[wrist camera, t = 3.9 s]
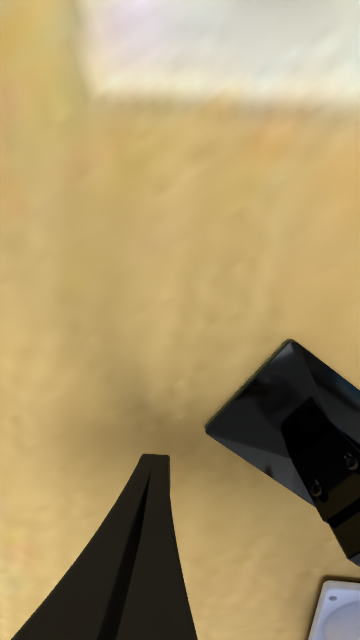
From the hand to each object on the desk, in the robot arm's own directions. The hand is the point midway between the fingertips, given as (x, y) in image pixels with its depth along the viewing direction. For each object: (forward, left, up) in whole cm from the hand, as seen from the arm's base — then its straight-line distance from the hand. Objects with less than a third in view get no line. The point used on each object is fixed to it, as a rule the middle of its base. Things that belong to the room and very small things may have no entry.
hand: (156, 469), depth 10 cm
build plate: (0, -9, -2) cm, 10 cm away
